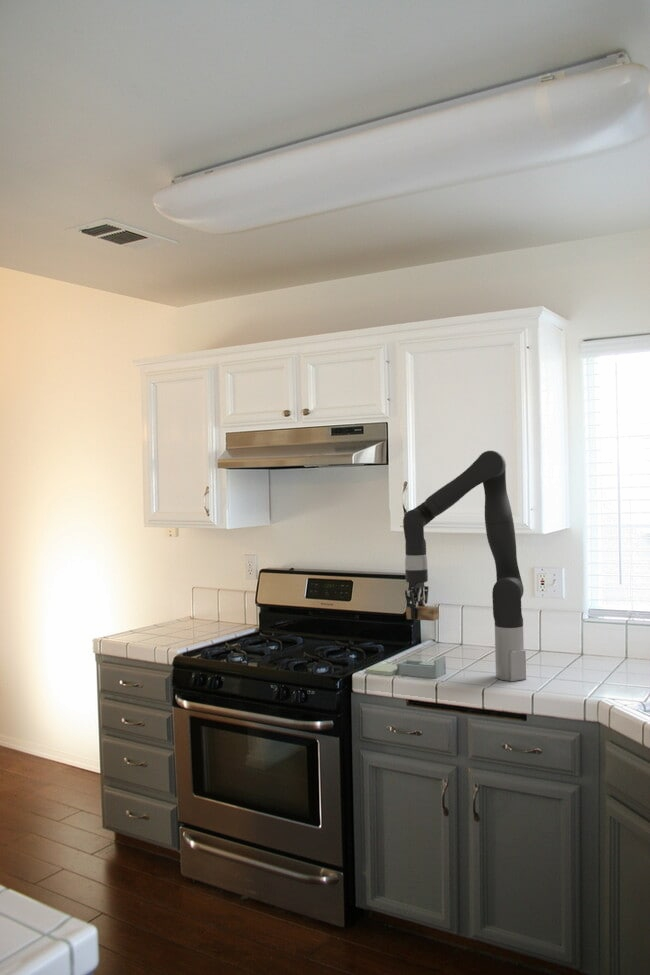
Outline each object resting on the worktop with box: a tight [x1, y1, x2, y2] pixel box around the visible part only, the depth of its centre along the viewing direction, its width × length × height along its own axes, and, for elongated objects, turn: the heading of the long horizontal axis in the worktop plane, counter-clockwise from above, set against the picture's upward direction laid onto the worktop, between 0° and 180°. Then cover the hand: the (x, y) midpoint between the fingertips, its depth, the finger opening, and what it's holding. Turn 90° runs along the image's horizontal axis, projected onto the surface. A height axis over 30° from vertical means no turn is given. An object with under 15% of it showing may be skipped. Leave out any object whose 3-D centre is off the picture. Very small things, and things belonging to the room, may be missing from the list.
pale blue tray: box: [396, 655, 447, 679], centre depth 285 cm, size 14×8×6 cm, turn 59°
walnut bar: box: [405, 605, 440, 622], centre depth 284 cm, size 10×4×4 cm, turn 58°
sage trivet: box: [364, 663, 397, 676], centre depth 290 cm, size 10×10×1 cm
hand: (417, 618), depth 285 cm, fingers closed on walnut bar, 4 cm apart
